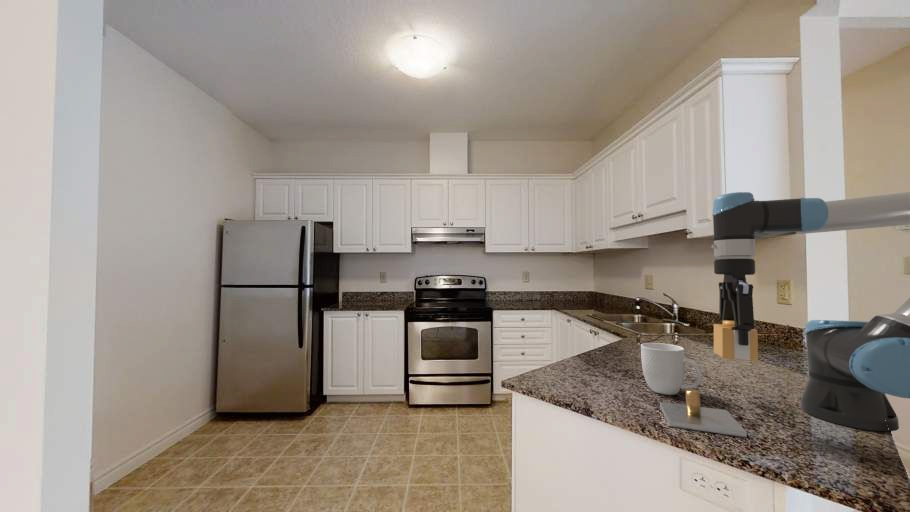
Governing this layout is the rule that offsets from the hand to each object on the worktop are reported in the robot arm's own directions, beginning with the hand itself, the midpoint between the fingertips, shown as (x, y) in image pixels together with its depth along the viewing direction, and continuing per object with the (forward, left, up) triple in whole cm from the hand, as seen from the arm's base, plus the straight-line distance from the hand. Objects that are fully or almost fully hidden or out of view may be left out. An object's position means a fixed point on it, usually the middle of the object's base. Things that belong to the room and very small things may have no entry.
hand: (736, 355), depth 78 cm
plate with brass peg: (+8, +3, -15) cm, 18 cm away
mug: (+11, -16, -16) cm, 25 cm away
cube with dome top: (0, 0, 0) cm, 0 cm away
